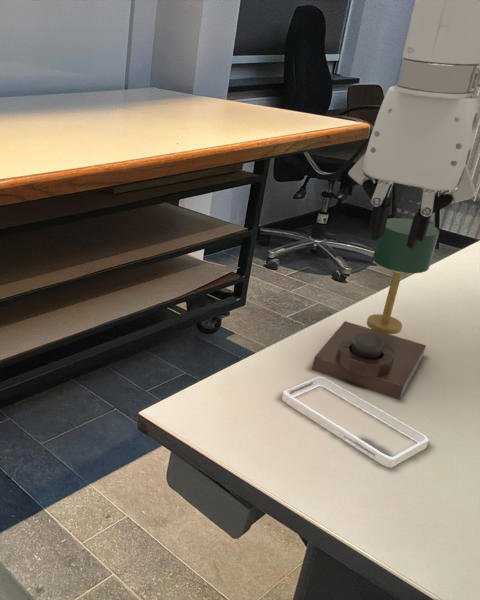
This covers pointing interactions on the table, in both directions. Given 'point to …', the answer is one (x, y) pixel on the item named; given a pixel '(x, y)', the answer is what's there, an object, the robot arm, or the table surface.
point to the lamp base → (370, 361)
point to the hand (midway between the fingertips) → (394, 239)
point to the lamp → (400, 265)
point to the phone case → (366, 407)
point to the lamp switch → (367, 346)
